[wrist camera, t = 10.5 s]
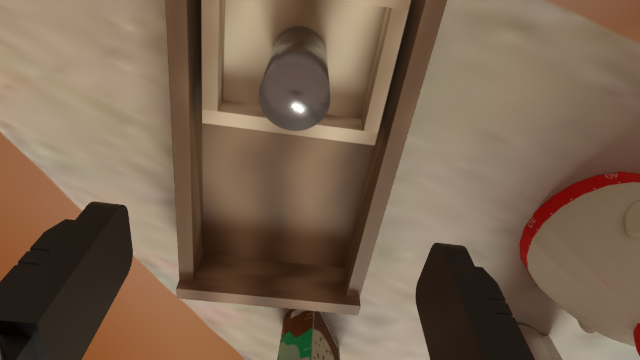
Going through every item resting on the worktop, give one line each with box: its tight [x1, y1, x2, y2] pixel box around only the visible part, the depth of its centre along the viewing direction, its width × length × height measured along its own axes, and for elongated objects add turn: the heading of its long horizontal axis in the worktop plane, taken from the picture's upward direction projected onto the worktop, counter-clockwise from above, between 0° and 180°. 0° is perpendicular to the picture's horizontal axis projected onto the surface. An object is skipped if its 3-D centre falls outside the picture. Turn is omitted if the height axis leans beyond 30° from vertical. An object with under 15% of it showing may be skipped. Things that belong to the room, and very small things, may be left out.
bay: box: [165, 0, 447, 315], centre depth 31 cm, size 16×28×6 cm, turn 171°
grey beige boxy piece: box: [202, 0, 411, 146], centre depth 24 cm, size 12×10×9 cm
